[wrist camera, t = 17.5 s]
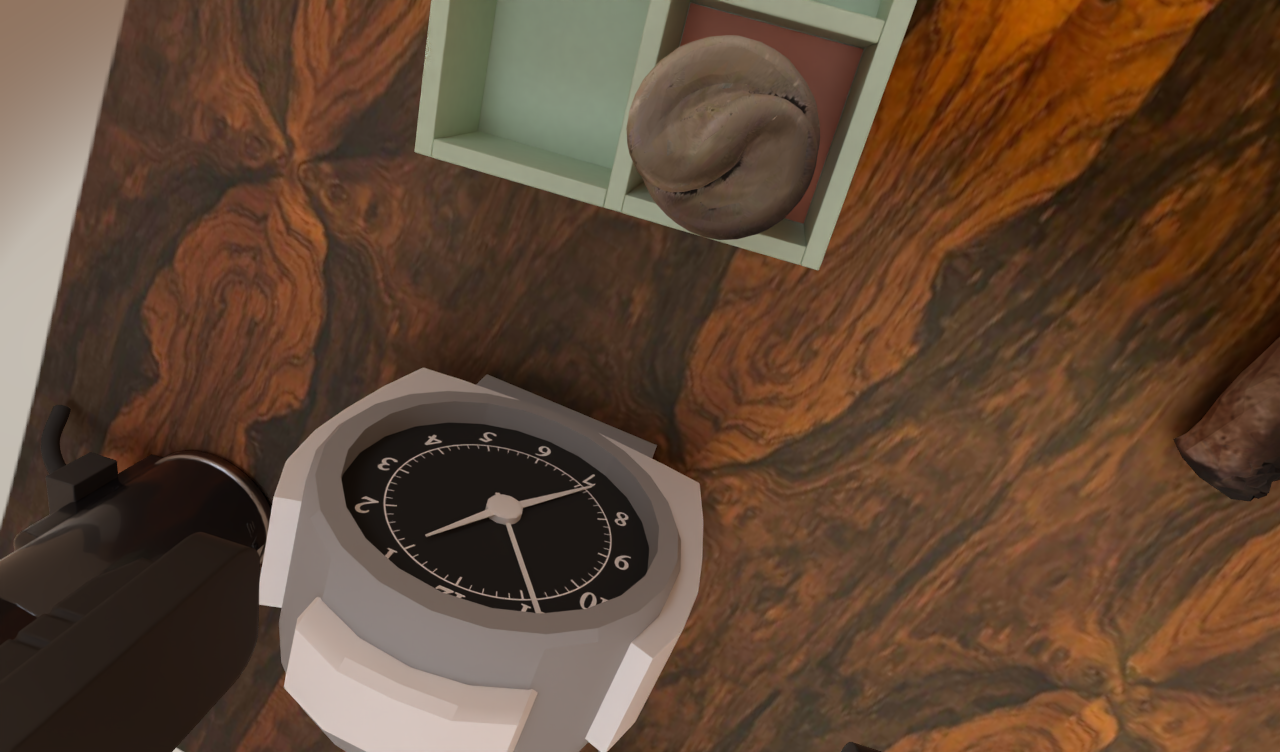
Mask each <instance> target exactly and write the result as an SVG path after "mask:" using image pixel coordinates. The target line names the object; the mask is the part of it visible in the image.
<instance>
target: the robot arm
mask: <svg viewBox="0 0 1280 752" xmlns="http://www.w3.org/2000/svg"><path fill="white" fill-rule="evenodd" d="M70 411H71V409H70V408H69V407H67V406H63V405H56V406H54V407H53V409H52V411H51V414H50V416H49V418H48V420H47V422H46V425H45V427H44V430H43V433H42V438H41V453H42V458H43V461H44V464H45V467H46V469H47V471H48V473H49V475H47V476H46V485H47V493H48V502H49V511H50V515H48V516H47V517H45V518H43V519H42V520H40V521H38V522H37V523H35V524H33V525H31V526H30V527H28V528H26V529H25V530H23V531H21V532H20V533H19V534H18V535H17V536H16V537H15V539H14V550H15V551H14V552H13V553H11V554H9V555H8V556H6V557H5V558H3V559H1V560H0V752H172V751H173V750H174V749H175V748H176V747H177V746H178V745H179V744H180V742H181V741H182V740H183V739H184V738H185V737H186V736H187V735H188V734H189V733H190V731H191V730H192V729H193V728H194V727H195V726H196V725H197V724H198V723H199V721H200V720H201V719H202V718H203V717H204V716H205V715H206V714H207V713H208V711H209V710H210V709H211V708H212V707H213V706H214V705H215V704H216V703H217V702H218V700H219V699H220V698H221V697H222V696H223V695H224V694H225V693H226V692H227V690H228V689H229V688H230V687H231V686H232V685H233V684H234V683H235V681H236V680H237V679H238V678H239V676H240V675H241V674H242V672H243V670H244V669H245V667H246V665H247V664H248V662H249V660H250V658H251V656H252V653H253V651H254V648H255V645H256V642H257V637H258V621H259V582H260V563H261V562H262V561H263V558H264V552H265V546H266V540H267V534H268V528H269V522H270V516H271V509H270V506H269V504H268V502H267V500H266V499H265V497H264V495H263V494H262V492H261V491H260V490H259V488H258V487H257V486H256V485H255V483H254V482H253V481H252V480H251V479H250V478H249V477H248V476H247V475H246V474H244V473H243V472H242V471H241V470H240V469H238V468H237V467H235V466H234V465H232V464H231V463H229V462H227V461H226V460H224V459H222V458H219V457H217V456H215V455H212V454H208V453H205V452H200V451H179V452H175V453H172V454H170V455H168V456H166V457H159V456H156V455H152V454H151V455H149V456H147V457H146V458H144V459H142V460H141V461H139V462H137V463H136V464H134V465H132V466H131V467H129V468H127V469H126V470H124V471H122V472H121V473H119V474H118V470H117V461H116V460H113V459H110V458H107V457H104V456H101V455H98V454H95V453H92V452H90V453H88V454H86V455H84V456H82V457H80V458H79V459H77V460H75V461H73V462H71V463H69V464H67V465H66V464H65V462H64V460H63V457H62V455H61V451H60V437H61V434H62V431H63V428H64V426H65V424H66V422H67V419H68V417H69V414H70ZM841 752H881V751H878V750H875V749H872V748H868V747H865V746H862V745H859V744H856V743H853V742H849V743H847V744H846V745H845V746H844V748H843V749H842V751H841Z"/></svg>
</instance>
